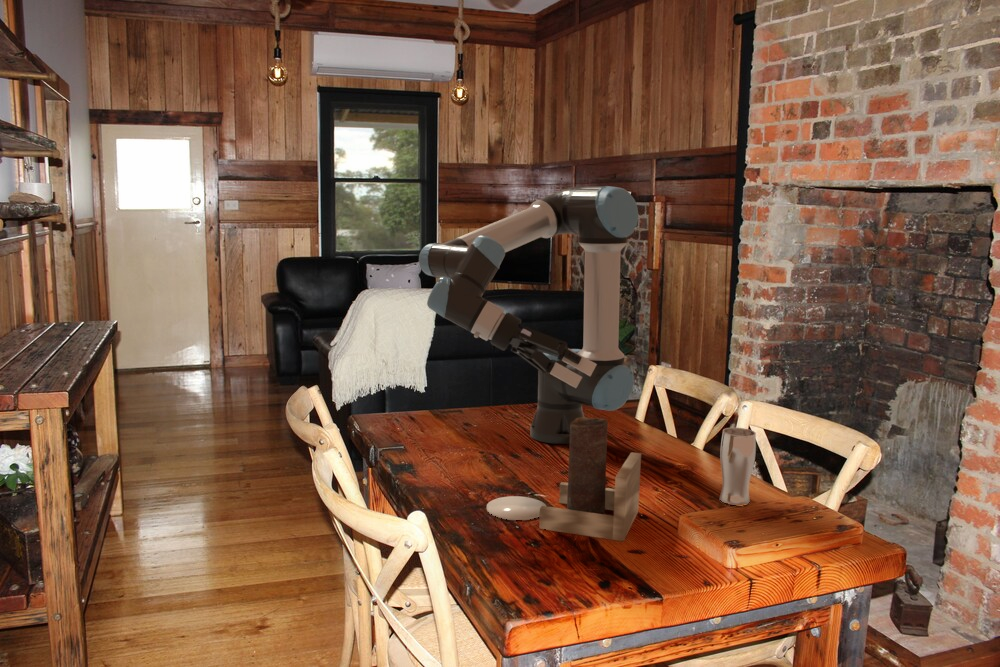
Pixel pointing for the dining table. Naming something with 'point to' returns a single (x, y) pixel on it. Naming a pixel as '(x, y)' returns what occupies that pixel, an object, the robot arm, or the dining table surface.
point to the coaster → (515, 508)
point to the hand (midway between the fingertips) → (586, 376)
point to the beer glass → (737, 464)
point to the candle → (587, 465)
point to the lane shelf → (617, 499)
